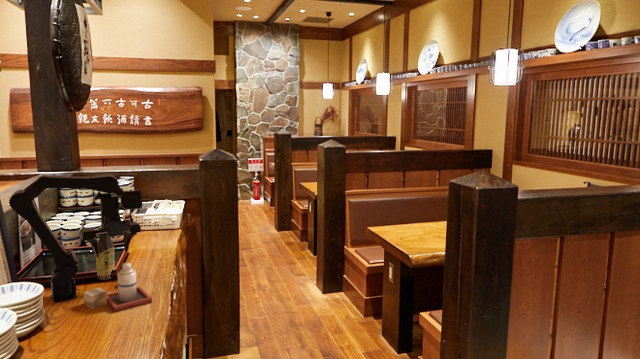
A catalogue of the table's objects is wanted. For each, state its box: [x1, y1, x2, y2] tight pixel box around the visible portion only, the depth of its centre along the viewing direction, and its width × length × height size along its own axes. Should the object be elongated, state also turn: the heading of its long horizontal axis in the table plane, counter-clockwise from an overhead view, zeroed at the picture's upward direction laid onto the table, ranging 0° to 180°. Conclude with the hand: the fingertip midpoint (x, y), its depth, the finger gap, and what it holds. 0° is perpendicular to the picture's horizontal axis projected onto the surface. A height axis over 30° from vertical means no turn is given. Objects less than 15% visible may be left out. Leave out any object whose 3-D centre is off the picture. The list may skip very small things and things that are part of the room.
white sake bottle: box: [117, 262, 137, 302], centre depth 142 cm, size 6×6×12 cm
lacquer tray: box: [107, 286, 153, 313], centre depth 143 cm, size 12×12×2 cm
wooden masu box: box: [82, 287, 108, 310], centre depth 140 cm, size 5×5×4 cm
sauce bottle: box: [95, 225, 116, 281], centre depth 161 cm, size 7×6×20 cm
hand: (111, 254), depth 150 cm, fingers open, 9 cm apart
